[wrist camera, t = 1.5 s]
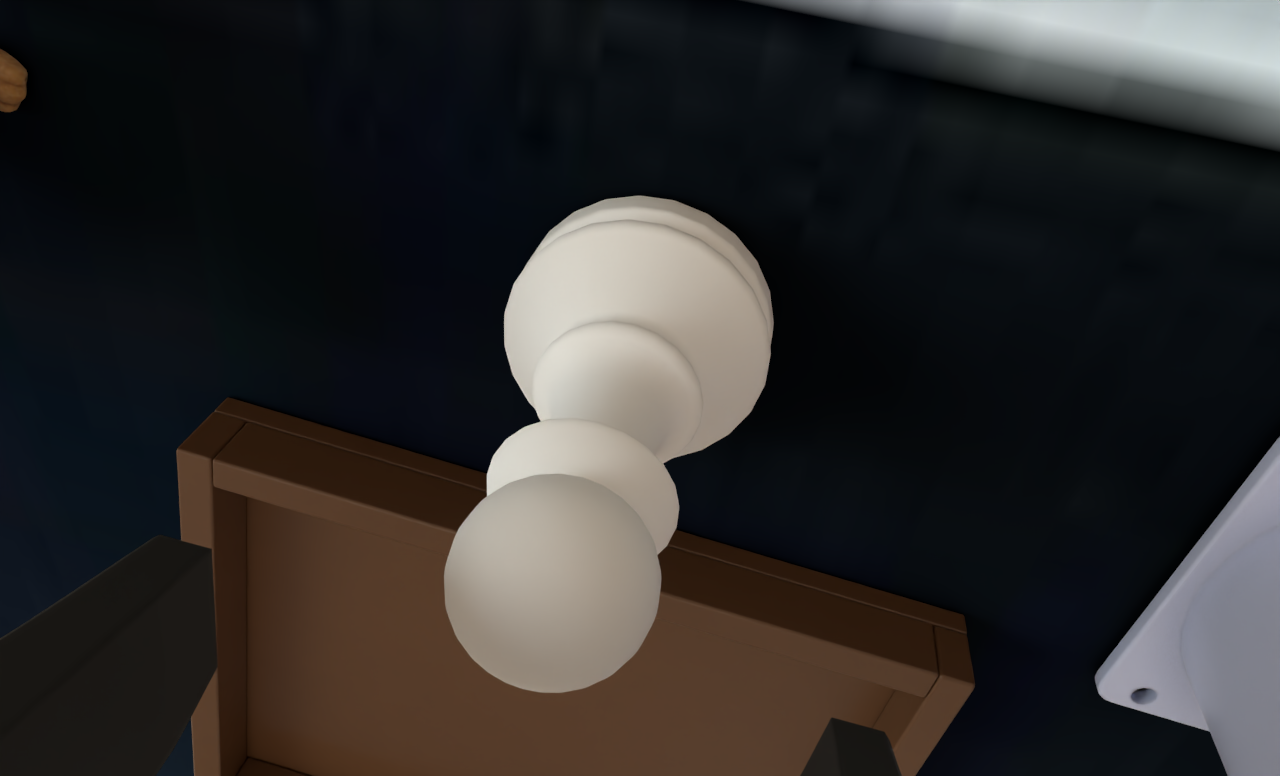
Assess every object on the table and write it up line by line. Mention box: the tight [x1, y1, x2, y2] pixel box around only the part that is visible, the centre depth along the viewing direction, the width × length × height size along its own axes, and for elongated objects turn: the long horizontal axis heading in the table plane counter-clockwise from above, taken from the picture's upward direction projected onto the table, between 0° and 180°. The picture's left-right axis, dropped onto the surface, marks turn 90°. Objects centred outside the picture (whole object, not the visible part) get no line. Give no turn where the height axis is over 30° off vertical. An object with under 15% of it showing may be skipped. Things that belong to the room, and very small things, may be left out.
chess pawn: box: [444, 195, 774, 693], centre depth 15 cm, size 5×5×9 cm
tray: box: [177, 398, 975, 776], centre depth 25 cm, size 18×14×2 cm
